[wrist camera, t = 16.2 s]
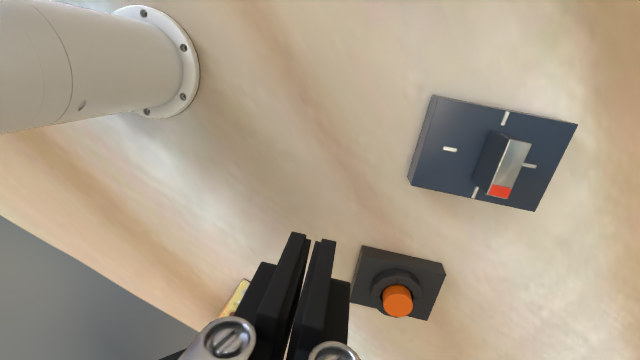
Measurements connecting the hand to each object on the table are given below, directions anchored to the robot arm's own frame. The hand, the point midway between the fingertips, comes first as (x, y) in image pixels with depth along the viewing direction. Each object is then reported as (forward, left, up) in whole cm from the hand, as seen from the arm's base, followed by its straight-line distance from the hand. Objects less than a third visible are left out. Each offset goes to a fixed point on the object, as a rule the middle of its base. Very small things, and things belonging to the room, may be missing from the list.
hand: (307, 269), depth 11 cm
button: (0, -22, -24) cm, 32 cm away
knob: (+14, -7, -24) cm, 29 cm away
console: (+14, -7, -27) cm, 31 cm away
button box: (0, -22, -27) cm, 35 cm away
